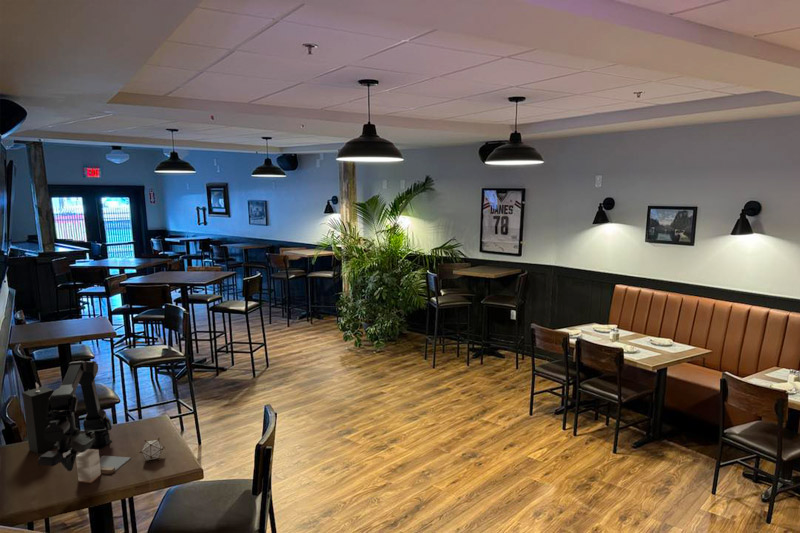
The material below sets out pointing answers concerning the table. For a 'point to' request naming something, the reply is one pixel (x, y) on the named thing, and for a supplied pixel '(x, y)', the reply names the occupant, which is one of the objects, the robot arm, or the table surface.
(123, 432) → the table surface
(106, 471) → the stop rail
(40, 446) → the tall black block
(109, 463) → the mat
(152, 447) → the game die
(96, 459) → the marked block
